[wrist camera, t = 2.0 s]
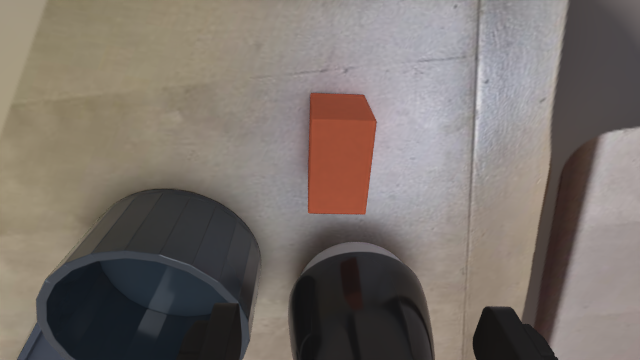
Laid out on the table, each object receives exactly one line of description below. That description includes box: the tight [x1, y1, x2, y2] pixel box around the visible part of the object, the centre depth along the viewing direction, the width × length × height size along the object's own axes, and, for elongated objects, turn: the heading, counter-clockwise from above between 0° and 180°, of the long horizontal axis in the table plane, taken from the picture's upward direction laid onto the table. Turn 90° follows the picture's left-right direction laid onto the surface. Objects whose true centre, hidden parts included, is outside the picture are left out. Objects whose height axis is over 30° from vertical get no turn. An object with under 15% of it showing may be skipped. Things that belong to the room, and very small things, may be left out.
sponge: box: [308, 93, 377, 214], centre depth 23 cm, size 4×6×5 cm, turn 178°
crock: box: [36, 189, 261, 360], centre depth 27 cm, size 13×13×7 cm
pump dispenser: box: [288, 242, 435, 360], centre depth 24 cm, size 10×10×15 cm
